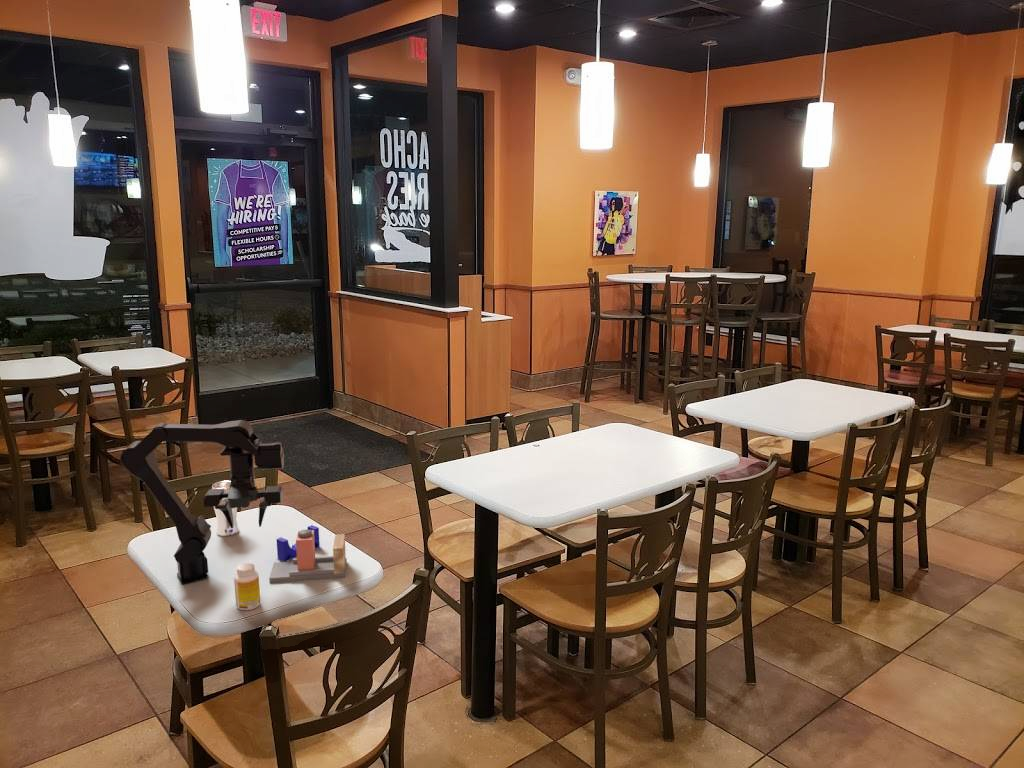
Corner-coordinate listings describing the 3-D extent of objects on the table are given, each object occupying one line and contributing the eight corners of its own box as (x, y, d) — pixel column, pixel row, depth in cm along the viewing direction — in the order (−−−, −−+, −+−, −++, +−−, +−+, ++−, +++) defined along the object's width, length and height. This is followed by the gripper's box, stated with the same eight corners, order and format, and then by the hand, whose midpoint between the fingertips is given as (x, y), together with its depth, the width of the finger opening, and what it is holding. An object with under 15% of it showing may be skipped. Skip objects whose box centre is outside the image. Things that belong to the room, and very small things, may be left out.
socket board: (269, 582, 196) (268, 574, 196) (274, 566, 205) (273, 559, 204) (344, 577, 199) (344, 569, 199) (346, 561, 208) (346, 554, 207)
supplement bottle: (265, 605, 185) (262, 566, 183) (243, 613, 181) (240, 574, 179) (253, 597, 189) (250, 559, 186) (232, 605, 185) (228, 566, 182)
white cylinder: (245, 530, 227) (241, 483, 224) (225, 539, 222) (221, 490, 218) (230, 525, 231) (226, 478, 228) (210, 533, 225) (206, 485, 222)
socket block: (334, 573, 198) (332, 548, 197) (336, 558, 207) (335, 534, 205) (343, 573, 199) (342, 548, 197) (345, 557, 207) (344, 534, 206)
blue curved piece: (309, 543, 220) (308, 523, 218) (319, 547, 217) (318, 527, 216) (274, 557, 210) (273, 537, 209) (284, 562, 208) (283, 541, 206)
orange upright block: (297, 572, 198) (295, 537, 196) (300, 562, 204) (298, 528, 202) (313, 571, 199) (311, 536, 197) (315, 561, 205) (313, 527, 202)
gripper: (196, 482, 186) (201, 542, 189) (275, 479, 189) (279, 537, 192) (206, 467, 196) (211, 524, 200) (281, 464, 199) (284, 520, 203)
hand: (246, 527), depth 198 cm, fingers open, 7 cm apart
